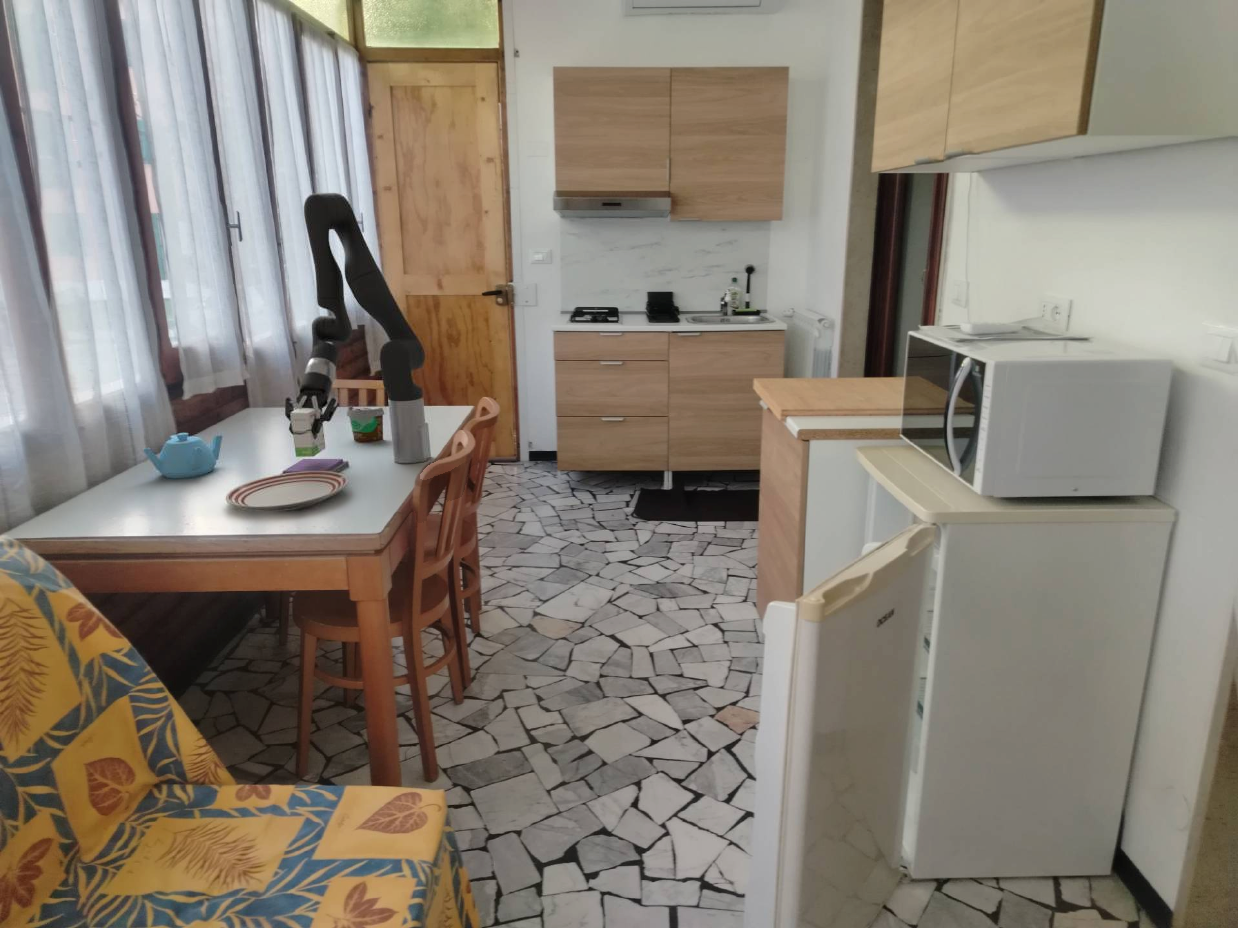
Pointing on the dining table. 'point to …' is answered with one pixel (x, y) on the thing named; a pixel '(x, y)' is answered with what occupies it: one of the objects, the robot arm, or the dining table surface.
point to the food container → (366, 424)
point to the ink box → (306, 433)
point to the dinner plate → (287, 490)
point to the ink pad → (318, 465)
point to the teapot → (186, 456)
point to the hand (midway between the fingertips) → (303, 433)
